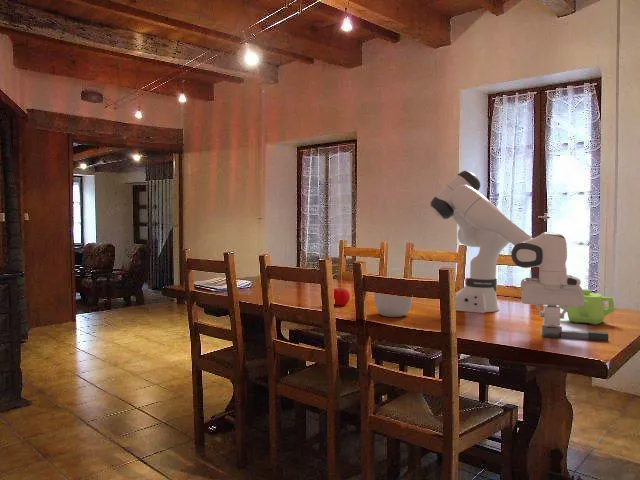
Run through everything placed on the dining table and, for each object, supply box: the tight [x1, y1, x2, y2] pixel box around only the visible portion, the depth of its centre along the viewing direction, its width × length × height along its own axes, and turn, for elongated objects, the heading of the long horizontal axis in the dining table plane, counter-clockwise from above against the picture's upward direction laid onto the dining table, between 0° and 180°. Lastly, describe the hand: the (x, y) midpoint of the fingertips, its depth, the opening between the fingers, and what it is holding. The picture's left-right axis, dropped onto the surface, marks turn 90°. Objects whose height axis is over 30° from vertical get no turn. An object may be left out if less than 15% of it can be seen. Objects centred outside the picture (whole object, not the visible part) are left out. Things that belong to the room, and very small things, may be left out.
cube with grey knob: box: [543, 305, 561, 326], centre depth 186 cm, size 5×5×7 cm
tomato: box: [333, 287, 351, 307], centre depth 250 cm, size 9×10×8 cm
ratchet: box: [541, 324, 609, 342], centre depth 184 cm, size 21×6×8 cm, turn 70°
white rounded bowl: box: [373, 292, 413, 318], centre depth 225 cm, size 17×17×15 cm
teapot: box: [560, 288, 616, 326], centre depth 209 cm, size 18×20×13 cm
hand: (551, 317), depth 186 cm, fingers closed on cube with grey knob, 5 cm apart
